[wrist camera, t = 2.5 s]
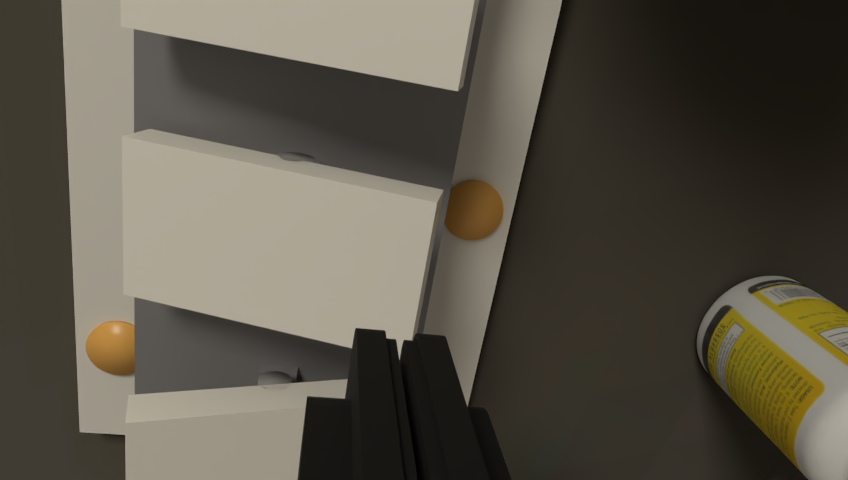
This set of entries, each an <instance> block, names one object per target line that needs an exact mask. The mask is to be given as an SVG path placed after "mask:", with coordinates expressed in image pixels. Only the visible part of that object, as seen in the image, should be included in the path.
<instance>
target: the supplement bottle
mask: <svg viewBox="0 0 848 480" xmlns="http://www.w3.org/2000/svg"><path fill="white" fill-rule="evenodd" d="M697 352H698V356H699V359H700V362H701V364H702V365H703V367H704V369H705V370H706V371H707V373H708V374H709V375H710V376H711V377H712V378H713V380H714V381H715V382H716V383H717V384H718V385H719V386H720V387H721V388H722V389H723V390H724V391H725V392H726V394H727V395H728V396H729V397H730V398H731V399H732V400H733V401H734V402H735V403H736V404H737V405H738V406H739V408H740V409H741V410H742V411H743V412H744V413H745V414H746V415H747V416H748V417H749V418H750V419H751V420H752V421H753V422H754V423H755V424H756V425H757V426H758V427H759V428H760V429H761V430H762V432H763V433H764V434H765V435H766V436H767V437H768V438H769V439H770V440H771V441H772V442H773V443H774V444H775V445H776V446H777V447H778V448H779V449H780V450H781V451H782V452H783V453H784V454H785V455H786V457H787V458H788V459H789V460H790V461H791V462H792V463H793V464H794V465H795V466H796V467H797V468H798V469H799V471H800V472H801V473H802V474H803V475H804V476H805V477H806V478H807V479H808V480H848V312H846V311H844V310H843V309H841V308H840V307H838V306H837V305H835V304H834V303H832V302H830V301H829V300H827V299H826V298H824V297H823V296H821V295H819V294H818V293H816V292H814V291H813V290H812V289H810V288H809V287H807V286H805V285H803V284H801V283H799V282H797V281H795V280H793V279H790V278H786V277H782V276H761V277H756V278H752V279H749V280H746V281H744V282H742V283H740V284H738V285H736V286H734V287H733V288H731V289H729V290H728V291H727V292H725V293H724V294H723V295H722V296H720V297H719V298H718V299H717V300H716V301H715V303H714V304H713V305H712V306H711V307H710V308H709V310H708V311H707V313H706V315H705V316H704V318H703V320H702V322H701V324H700V327H699V330H698V334H697Z"/></svg>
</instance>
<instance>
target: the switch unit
mask: <svg viewBox="0 0 848 480" xmlns="http://www.w3.org/2000/svg"><path fill="white" fill-rule="evenodd" d="M561 4H562V0H479V4H478V10H477V15H476V20H475V26H474V31H473V36H472V42H471V47H470V52H469V58H468V63H467V68H466V74H465V79H464V84H463V87H462V88H461V89H460V90H459V91H453V90H448V89H443V88H437V87H432V86H427V85H422V84H417V83H412V82H406V81H401V80H396V79H391V78H386V77H380V76H375V75H370V74H365V73H360V72H354V71H349V70H344V69H339V68H334V67H328V66H323V65H318V64H313V63H308V62H302V61H297V60H292V59H287V58H282V57H276V56H271V55H266V54H261V53H256V52H251V51H245V50H240V49H235V48H230V47H225V46H219V45H214V44H209V43H204V42H199V41H193V40H188V39H183V38H178V37H173V36H167V35H162V34H157V33H152V32H147V31H141V30H136V29H131V28H126V27H121V1H120V0H62V23H63V47H64V71H65V94H66V118H67V141H68V165H69V189H70V212H71V236H72V259H73V283H74V307H75V330H76V354H77V377H78V401H79V425H80V432H88V433H103V434H118V435H125V421H126V411H127V402H128V395H136V394H149V393H163V392H177V391H191V390H204V389H218V388H232V387H245V386H258V378H259V376H260V375H262V374H263V373H265V372H269V371H281V372H284V373H286V374H288V375H289V376H290V377H291V379H292V383H300V382H314V381H328V380H342V379H348V373H349V366H350V359H351V352H352V348H348V347H344V346H340V345H336V344H331V343H327V342H323V341H319V340H314V339H310V338H306V337H302V336H298V335H293V334H289V333H285V332H281V331H276V330H272V329H268V328H264V327H259V326H255V325H251V324H247V323H242V322H238V321H234V320H230V319H225V318H221V317H217V316H213V315H208V314H204V313H200V312H196V311H191V310H187V309H183V308H179V307H174V306H170V305H166V304H162V303H157V302H153V301H149V300H145V299H141V298H136V297H132V296H128V295H124V294H123V202H122V136H125V135H129V134H132V133H136V132H140V131H143V130H147V129H154V130H158V131H163V132H168V133H173V134H178V135H182V136H187V137H192V138H197V139H202V140H207V141H211V142H216V143H221V144H226V145H231V146H235V147H240V148H245V149H250V150H255V151H259V152H264V153H269V154H274V155H277V154H278V153H280V152H298V153H303V154H307V155H310V156H313V157H314V158H315V163H317V164H322V165H327V166H331V167H336V168H341V169H346V170H351V171H356V172H360V173H365V174H370V175H375V176H380V177H384V178H389V179H394V180H399V181H404V182H408V183H413V184H418V185H423V186H428V187H432V188H437V189H442V190H444V191H443V197H442V202H441V207H440V213H439V218H438V223H437V229H436V234H435V239H434V245H433V250H432V255H431V261H430V266H429V271H428V277H427V282H426V287H425V293H424V298H423V303H422V309H421V314H420V319H419V325H418V330H417V333H420V334H432V335H443V336H445V337H446V339H447V342H448V345H449V349H450V352H451V355H452V358H453V362H454V365H455V368H456V372H457V375H458V378H459V381H460V385H461V388H462V391H463V394H464V398H465V401H466V404H467V407H468V403H469V399H470V394H471V390H472V386H473V381H474V377H475V373H476V368H477V364H478V360H479V356H480V351H481V347H482V343H483V338H484V334H485V330H486V326H487V321H488V317H489V313H490V308H491V304H492V300H493V295H494V291H495V287H496V283H497V278H498V274H499V270H500V265H501V261H502V257H503V253H504V248H505V244H506V240H507V235H508V231H509V227H510V223H511V218H512V214H513V210H514V205H515V201H516V197H517V192H518V188H519V184H520V180H521V175H522V171H523V167H524V162H525V158H526V154H527V150H528V145H529V141H530V137H531V132H532V128H533V124H534V119H535V115H536V111H537V107H538V102H539V98H540V94H541V89H542V85H543V81H544V77H545V72H546V68H547V64H548V59H549V55H550V51H551V46H552V42H553V38H554V34H555V29H556V25H557V21H558V16H559V12H560V8H561Z"/></svg>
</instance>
